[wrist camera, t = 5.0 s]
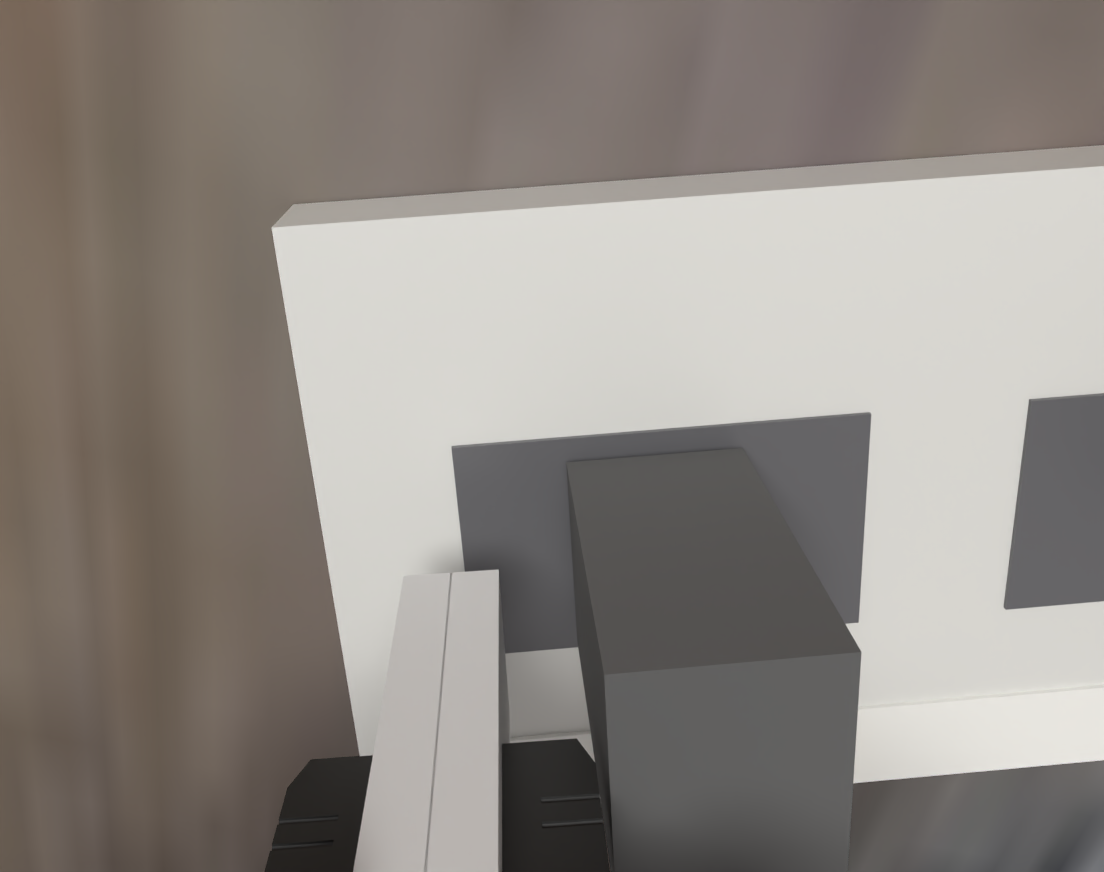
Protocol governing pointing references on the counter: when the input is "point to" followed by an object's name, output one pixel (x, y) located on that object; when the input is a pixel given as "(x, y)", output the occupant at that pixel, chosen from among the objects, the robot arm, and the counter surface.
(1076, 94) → the counter surface
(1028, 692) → the switch board
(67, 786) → the counter surface
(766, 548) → the block
